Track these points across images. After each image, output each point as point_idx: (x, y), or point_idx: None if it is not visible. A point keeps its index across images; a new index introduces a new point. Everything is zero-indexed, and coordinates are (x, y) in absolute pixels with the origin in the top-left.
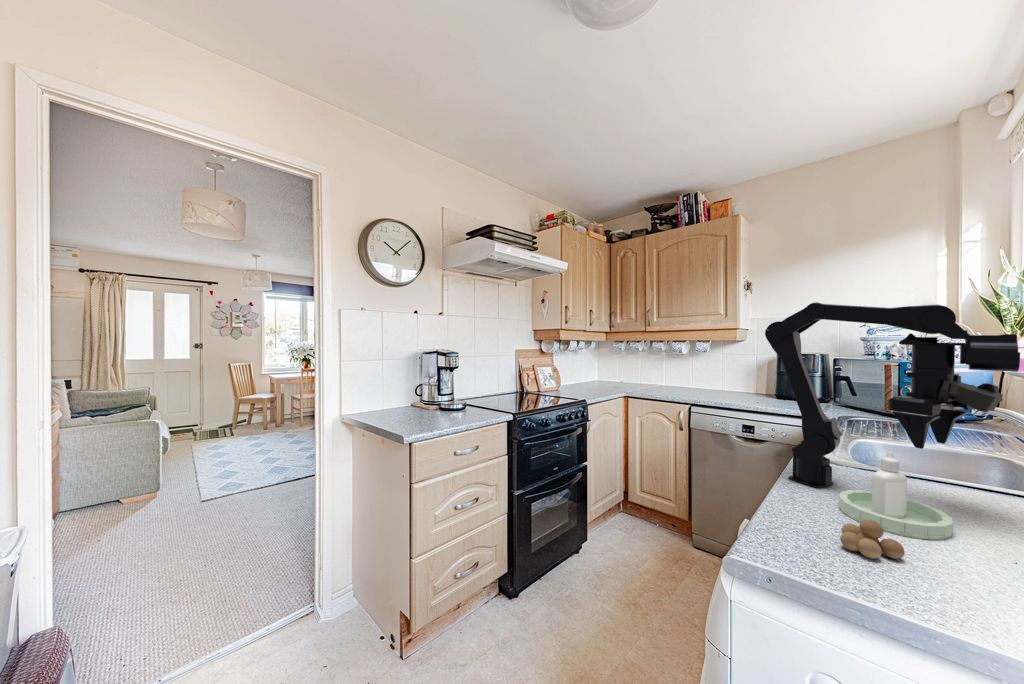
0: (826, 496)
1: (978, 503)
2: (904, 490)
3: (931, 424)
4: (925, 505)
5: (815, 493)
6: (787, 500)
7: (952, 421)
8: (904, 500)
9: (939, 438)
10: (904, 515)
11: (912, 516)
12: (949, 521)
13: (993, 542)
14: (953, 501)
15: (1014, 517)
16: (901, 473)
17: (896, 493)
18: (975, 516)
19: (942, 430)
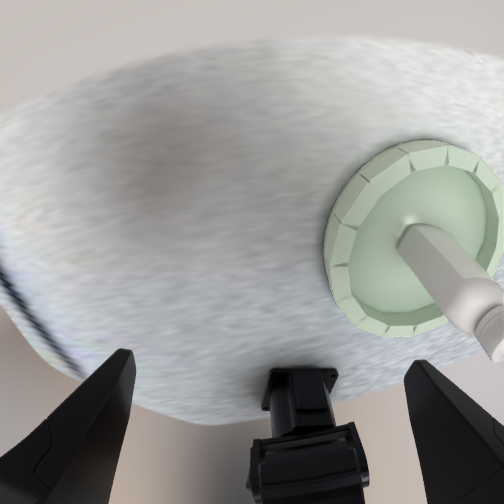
0: (373, 344)
1: (56, 158)
2: (466, 261)
3: (112, 480)
4: (358, 211)
5: (370, 358)
6: (446, 354)
7: (57, 479)
8: (449, 246)
9: (128, 386)
10: (427, 226)
11: (399, 215)
12: (443, 152)
13: (388, 72)
14: (102, 194)
15: (94, 77)
16: (478, 300)
17: (480, 265)
18: (192, 125)
19: (107, 429)
